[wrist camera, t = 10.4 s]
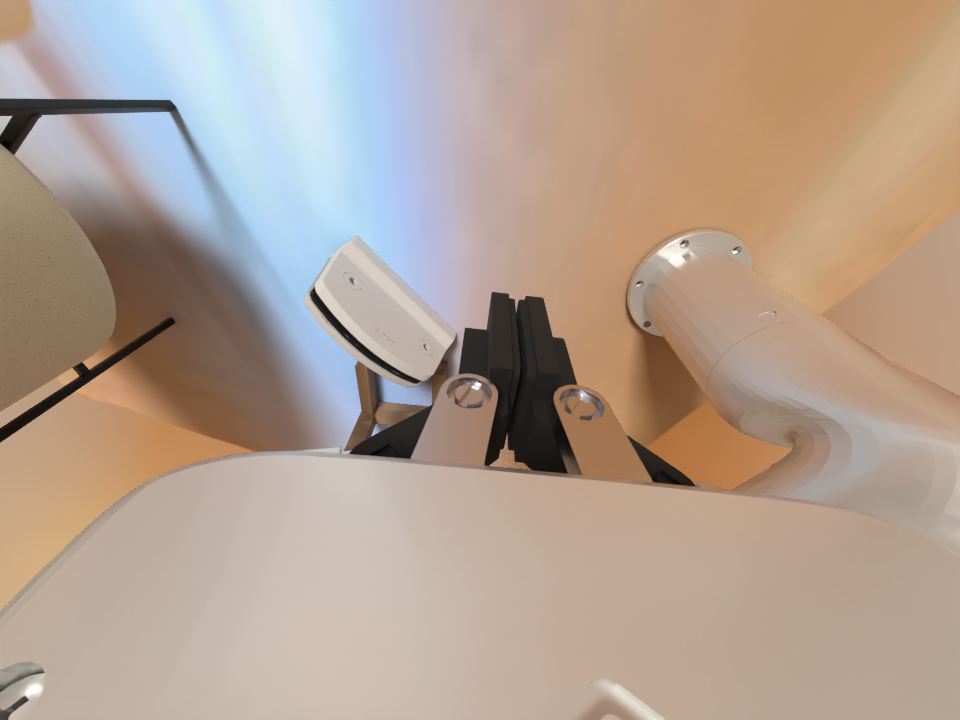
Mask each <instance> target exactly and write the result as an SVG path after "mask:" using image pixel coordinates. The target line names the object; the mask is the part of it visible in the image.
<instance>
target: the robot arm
mask: <svg viewBox="0 0 960 720" xmlns="http://www.w3.org/2000/svg"><path fill="white" fill-rule="evenodd" d="M682 241H683V242H682ZM681 242H682V243H681ZM752 269H753V263H752V259H751V254H750V252H749V251H748V249H747V247H746V246H745V245H744V244H743V243H742V242H741V241H740V240H739V239H738V238H736V237H734V236H732V235H731V234H728V233H726V232H723V231H720V230H713V229H701V230H693V231H689V232H685V233H682V234H680V235H677V236H675V237H672V238H670V239H669V240H667V241H665V242H664V243H662V244H660V245H659V246H658V247H656V248H655V249H654V250H653V251H651V252H650V253H649V254H648V255H647V256H646V257H645V258H644V260H643V261H642V262H641V263H640V264H639V266H638V267H637V269H636V270H635V272H634V274H633V276H632V278H631V280H630V283H629V286H628V291H627V305H628V310H629V312H630V314H631V316H632V318H633V319H634V321H635V322H636V324H637V325H638V326H639V327H640V328H641V329H643V330H645V331H646V332H648V333H650V334H653V335H656V336H660V337H664V338H665V339H666V341H667V342H668V344H669V345H670V346H671V348H672V349H673V351H674V352H675V353H676V355H677V356H678V358H679V359H680V360H681V362H682V363H683V365H684V366H685V367H686V369H687V370H688V372H689V373H690V374H691V376H692V377H693V379H694V380H695V381H696V383H697V384H698V386H699V387H700V388H701V390H702V391H703V393H704V394H705V395H706V397H707V398H708V400H709V401H710V402H711V404H712V405H713V406H714V408H715V409H716V411H717V412H718V413H719V414H720V415H721V417H723V419H724V420H725V421H726V422H728V423H729V424H730V425H731V426H733V427H734V428H736V429H737V430H739V431H740V432H742V433H744V434H746V435H749V436H751V437H753V438H756V439H758V440H762V441H765V442H768V443H772V444H775V445H779V446H783V447H788V448H792V451H791V452H790V453H788V454H787V455H786V456H785V457H784V458H782V459H780V460H779V461H777V462H776V463H774V464H772V465H771V466H770V467H769V468H768V469H766V470H764V471H763V472H761V473H759V474H758V475H756V476H754V477H753V478H751V479H749V480H747V481H746V482H744V483H742V484H741V485H739V486H738V487H736V488H734V489H732V490H731V491H729V490H726V489H722V488H719V487H715V486H712V485H708V484H705V483H701V482H698V484H697V485H696V486H695V485H694V484H693V482H692V481H691V480H690V479H689V478H687V477H686V476H685V475H684V474H683V473H682V472H680V471H679V470H677V469H676V468H674V467H673V466H671V465H670V464H668V463H667V462H665V461H664V460H663V459H661V458H660V457H658V456H657V455H655V454H653V453H652V452H651V451H649V450H648V449H646V448H645V447H643V446H642V445H641V444H639V443H638V442H636V441H635V440H633V439H632V438H630V437H629V436H627V435H626V434H625V432H624V430H623V428H622V427H621V425H620V423H619V421H618V419H617V418H616V416H615V414H614V412H613V411H612V409H611V407H610V405H609V404H608V402H607V401H606V400H605V399H604V397H602V396H601V395H600V394H599V393H597V392H596V391H594V390H592V389H590V388H587V387H584V386H580V385H577V382H576V379H575V375H574V372H573V368H572V365H571V361H570V358H569V354H568V351H567V347H566V344H565V341H564V339H562V338H554V337H552V332H551V328H550V324H549V320H548V316H547V311H546V307H545V303H544V299H543V298H540V297H532V296H526V297H525V300H519V302H518V306H517V312H516V309H515V299H510V298H509V294H505V293H496V292H492V295H491V302H490V309H489V317H488V324H487V330H481V329H472V328H465V332H464V340H463V347H462V354H461V361H460V368H459V374H458V375H455V376H453V377H450V378H449V379H448V380H446V381H445V382H444V384H443V385H442V387H441V389H440V391H439V394H438V396H437V398H436V401H435V403H434V404H433V405H431V406H429V407H427V408H425V409H423V410H421V411H419V412H417V413H416V414H414V415H412V416H410V417H408V418H406V419H404V420H402V421H400V422H398V423H397V424H395V425H393V426H391V427H389V428H387V429H385V430H383V431H381V432H379V433H377V434H376V435H374V436H372V437H370V438H368V439H366V440H364V441H362V442H361V443H360V444H358V445H357V446H355V447H354V448H353V449H352V450H351V451H341V447H333V448H322V449H311V450H301V451H262V452H253V453H244V454H235V455H228V456H223V457H219V458H214V459H209V460H204V461H199V462H195V463H192V464H189V465H185V466H181V467H179V468H176V469H173V470H170V471H167V472H164V473H162V474H160V475H158V476H156V477H154V478H152V479H150V480H148V481H146V482H144V483H143V484H141V485H140V486H138V487H137V488H135V489H134V490H132V491H130V492H129V493H128V494H126V495H125V496H124V497H122V498H121V499H120V500H118V501H117V502H116V503H114V504H113V505H112V506H111V507H110V508H108V509H107V510H106V511H105V512H103V513H102V514H101V515H100V516H99V517H98V518H97V519H95V520H94V521H93V522H92V523H91V524H90V525H89V526H87V528H85V529H84V530H83V531H82V532H81V533H80V534H79V535H77V536H76V537H75V538H74V539H73V540H72V541H71V542H70V543H69V544H68V545H67V546H66V547H65V548H63V550H62V551H60V552H59V553H58V554H57V555H56V556H55V557H54V558H53V559H52V560H51V561H50V562H49V563H48V564H47V565H46V566H45V567H44V568H43V569H42V570H41V571H40V572H39V573H38V574H37V575H35V577H33V578H32V580H31V581H30V582H29V583H28V584H27V585H26V586H25V587H24V588H23V589H22V590H21V591H20V592H19V593H18V594H17V595H16V596H15V597H14V598H13V599H12V600H11V601H10V602H9V603H8V604H7V605H6V606H5V607H4V608H3V609H2V610H1V611H0V720H960V396H959V395H957V394H955V393H953V392H951V391H949V390H947V389H945V388H943V387H941V386H939V385H937V384H935V383H933V382H931V381H930V380H927V379H926V378H924V377H922V376H920V375H918V374H916V373H914V372H912V371H910V370H908V369H907V368H905V367H903V366H902V365H900V364H898V363H896V362H895V361H893V360H892V359H890V358H888V357H887V356H885V355H883V354H882V353H880V352H878V351H877V350H875V349H873V348H872V347H870V346H868V345H867V344H865V343H863V342H862V341H860V340H859V339H857V338H855V337H854V336H852V335H851V334H849V333H848V332H846V331H845V330H843V329H842V328H840V327H839V326H837V325H835V324H834V323H832V322H830V321H829V320H828V319H826V318H824V317H823V316H821V315H820V314H818V313H817V312H815V311H814V310H812V309H811V308H809V307H808V306H806V305H805V304H803V303H802V302H800V301H798V300H797V299H795V298H794V297H792V296H791V295H789V294H788V293H786V292H785V291H783V290H782V289H780V288H779V287H777V286H776V285H774V284H772V283H771V282H769V281H768V280H766V279H765V278H763V277H762V276H760V275H759V274H757V273H756V272H754V271H753V270H752ZM638 281H639V282H638ZM637 282H638V283H637ZM507 433H508V450H514V455H515V462H522V463H524V464H526V465H527V466H528V467H529V468H530V470H523V469H513V468H502V467H492V466H489V465H490V464H492V463H493V462H494V461H496V460H497V459H498V458H499V454H500V449H503V448H504V444H505V440H506V435H507Z"/></svg>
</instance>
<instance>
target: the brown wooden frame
mask: <svg viewBox="0 0 960 720" xmlns="http://www.w3.org/2000/svg"><path fill="white" fill-rule="evenodd" d="M355 369H356V376H357V382H358V389H359V396H360V402H361V409H362V411H361V413H360V416H359V418H358V420H357V423H356V425H355V427H354V429H353V432H352V434H351V436H350V439H349V441H348V443H347V445H346V448H345V450H344V451H351V450H352V449H353V448H354V447H355V446H357V445H358V444H360V443H361V442H362V441H364V440H366V439H368V438H370V437H371V435H372V432H373V430H374V427H375V424H376V423H378V424H388V425H395V424H397V423H398V422H400V421H402V420H404V419H406V418H408V417H410V416H412V415H414V414H416V413H417V412H419V411H421V410H423V409H425V408H427V406H417V405H408V404H398V403H388V402H380V400H378V391H377V382H376V372H374V371H373V370H371V369H370V368H368V367H366V366H365V365H364V364H362V363H361V362H360V361H358V362H357V364H356V366H355ZM446 372H447V362H446V361H440V363H439V365H438V367H437V369H436V371H435V373H434V374H433V387H432V405H433V404H434V403H435V401H436V398H437V396H438V394H439V391H440V389H441V387H442V385H443V384H444V382H445V381H446Z"/></svg>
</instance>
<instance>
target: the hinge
mask: <svg viewBox="0 0 960 720" xmlns="http://www.w3.org/2000/svg"><path fill="white" fill-rule="evenodd" d="M304 303H305V306H306V307H307V308H308V310H309V311H310V312H311V314H312V315H313V316H314V318H315V319H316V320H317V321H318V322H319V324H320V325H321V326H322V327H323V328H324V329H325V330H326V332H327V333H328V334H329V335H330V336H331V337H332V338H333V339H334V340H335V341H336V342H337V343H338V344H339V345H340V346H341V347H343V348H344V349H345V350H346V351H347V352H348V353H349V354H351V355H352V356H353V357H354V358H356V359H357V360H358V361H360V362H361V363H362V364H364V365H365V366H366V367H368V368H370V369H371V370H373V371H374V372H376V373H377V374H379V375H381V376H383V377H385V378H386V379H388V380H390V381H392V382H395V383H397V384H399V385H402V386H405V387H407V388H410V387H414V386H418V385H420V383H421V382H422V381H426V380H428V379H429V378H430V377H431V376H432V375H433V374H434V373H435V371H436V369H437V367H438V365H439V363H440V361H441V359H442V358H443V356H444V354H445V352H446V350H447V349H448V347H449V346H450V345H451V344H452V342H453V341H454V340H455V336H456V333H457V332H455V331H454V330H453V329H452V328H451V327H450V326H449V325H448V324H447V323H446V322H445V321H444V320H443V319H442V318H441V317H440V316H439V315H438V314H437V313H436V312H435V311H434V310H433V309H432V308H431V307H430V306H429V305H428V304H427V303H426V302H425V301H424V300H423V299H422V298H421V297H420V296H419V295H418V294H417V293H416V292H415V291H414V290H413V289H412V288H411V287H410V286H409V285H408V284H407V283H406V282H405V281H404V280H403V279H402V278H401V277H400V276H399V275H398V274H396V273H395V272H394V271H393V270H392V269H391V268H390V267H389V266H388V265H387V264H386V263H385V262H384V261H383V260H382V259H381V258H380V257H379V256H378V255H377V254H376V253H375V252H374V251H373V250H372V249H371V248H370V247H369V246H368V245H367V244H366V243H365V242H364V241H363V240H362V239H361V238H360V237H359V236H358V235H356V236H355V237H353V238H352V239H351V240H350V241H349V242H348V243H347V244H345V245H343V246H342V247H340V248H339V249H337V250H336V252H335V253H334V255H333V256H332V258H331V257H330V258H329V259H328V261H327V262H326V264H325V266H324V267H323V269H322V270H321V272H320V273H319V275H318V276H317V278H316V279H315V281H314V282H313V284H312V286H311V287H310V289H309V290H308V292H307V294H306V296H305V299H304Z"/></svg>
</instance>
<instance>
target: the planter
mask: <svg viewBox="0 0 960 720" xmlns="http://www.w3.org/2000/svg"><path fill="white" fill-rule="evenodd" d="M175 107H176V106H175V105H174V104H173V103H172V102H171V101H170V100H96V99H0V116H12V118H11V119H10V121H9V123H8V124H7V126H6V127H5V129H4V131H3V132H2V134H1V135H0V411H2V410H4V409H5V408H7V407H9V406H10V405H12V404H13V403H15V402H17V401H18V400H20V399H22V398H23V397H25V396H27V395H28V394H30V393H31V392H33V391H35V390H36V389H38V388H40V387H41V386H42V385H45V384H46V383H48V382H49V381H51V380H53V379H54V378H56V377H58V376H59V375H61V374H62V373H64V372H66V371H67V370H69V369H71V368H73V369H74V370H75V371H76V372H77V373H78V375H79V377H78V378H76V379H75V380H73V381H72V382H70V383H69V384H67V385H66V386H64V387H63V388H61V389H60V390H58V391H57V392H55V393H53V394H52V395H50V396H49V397H47V398H46V399H44V400H43V401H41V402H40V403H38V404H37V405H35V406H34V407H32V408H31V409H29V410H28V411H26V412H24V413H23V414H21V415H20V416H18V417H17V418H15V419H14V420H12V421H11V422H9V423H8V424H7V425H5V426H3V427H2V428H0V442H2V441H3V440H5V439H6V438H8V437H9V436H10V435H12V434H13V433H15V432H16V431H18V430H19V429H21V428H22V427H23V426H25V425H26V424H28V423H29V422H31V421H32V420H34V419H35V418H37V417H38V416H40V415H41V414H43V413H44V412H46V411H47V410H48V409H50V408H51V407H53V406H54V405H56V404H57V403H59V402H60V401H62V400H63V399H64V398H66V397H67V396H69V395H70V394H72V393H73V392H75V391H76V390H78V389H79V388H81V387H82V386H84V385H85V384H87V383H88V382H89V381H91V380H92V379H94V378H95V377H97V376H98V375H100V374H101V373H103V372H104V371H106V370H107V369H108V368H110V367H111V366H113V365H114V364H116V363H117V362H119V361H120V360H122V359H123V358H125V357H126V356H127V355H129V354H130V353H132V352H133V351H135V350H136V349H138V348H139V347H141V346H142V345H144V344H145V343H146V342H148V341H149V340H151V339H152V338H154V337H155V336H157V335H158V334H160V333H161V332H163V331H164V330H166V329H167V328H168V327H170V326H171V325H173V324H174V323H175V322H174V320H173V319H172V318H168V319H166V320H165V321H163V322H162V323H160V324H159V325H157V326H156V327H154V328H153V329H151V330H150V331H148V332H147V333H145V334H143V335H142V336H140V337H139V338H137V339H136V340H134V341H133V342H131V343H130V344H128V345H127V346H125V347H124V348H122V349H121V350H119V351H118V352H116V353H115V354H113V355H111V356H110V357H108V358H107V359H105V360H104V361H102V362H101V363H99V364H98V365H96V366H95V367H93V368H92V369H90V370H89V369H88V368H87V367H86V366H85V365H84V364H83V363H82V362H83V361H84V360H86V359H88V358H89V357H91V356H92V355H94V354H95V353H96V352H98V351H99V350H100V349H101V348H103V347H104V346H105V344H106V343H107V341H108V340H109V338H110V337H111V335H112V334H113V330H114V327H115V323H116V302H115V298H114V293H113V289H112V285H111V282H110V280H109V277H108V275H107V273H106V270H105V268H104V265H103V263H102V261H101V260H100V258H99V256H98V254H97V253H96V251H95V249H94V247H93V246H92V244H91V242H90V241H89V239H88V238H87V236H86V235H85V234H84V232H83V231H82V229H81V228H80V227H79V225H78V224H77V223H76V221H75V220H74V218H73V217H72V216H71V214H70V213H69V212H68V211H67V210H66V209H65V207H64V206H63V205H62V204H61V203H60V202H59V201H58V199H57V198H56V197H55V196H54V195H53V194H52V193H51V191H50V190H49V189H48V188H47V187H46V186H45V185H44V184H43V183H42V182H41V181H40V180H39V179H38V178H37V177H36V176H35V175H34V174H33V173H32V172H31V171H30V170H29V169H28V168H27V167H26V166H25V165H24V164H23V163H22V162H21V161H20V160H19V159H18V158H17V157H15V156H14V155H15V153H16V152H17V150H18V149H19V147H20V146H21V144H22V143H23V141H24V140H25V138H26V137H27V135H28V134H29V132H30V131H31V129H32V128H33V126H34V125H35V123H36V122H37V120H38V119H39V118H41V117H42V115H58V114H97V113H135V112H171V111H173V109H174V108H175Z"/></svg>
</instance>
